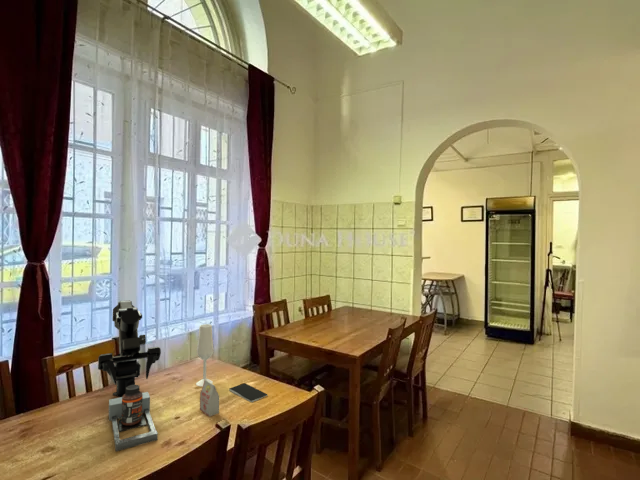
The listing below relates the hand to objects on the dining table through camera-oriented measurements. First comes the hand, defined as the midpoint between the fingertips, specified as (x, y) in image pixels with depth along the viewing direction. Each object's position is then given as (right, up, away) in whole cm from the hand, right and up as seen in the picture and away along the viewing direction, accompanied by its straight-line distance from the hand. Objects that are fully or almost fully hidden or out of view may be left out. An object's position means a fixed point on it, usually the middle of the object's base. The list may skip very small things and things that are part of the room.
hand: (131, 381), depth 116 cm
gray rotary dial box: (-3, -13, +4) cm, 14 cm away
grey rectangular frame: (+3, -13, -6) cm, 14 cm away
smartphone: (+34, -14, +22) cm, 43 cm away
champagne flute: (+14, -13, +30) cm, 36 cm away
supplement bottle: (+1, -13, -2) cm, 13 cm away
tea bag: (+24, -13, +7) cm, 28 cm away
